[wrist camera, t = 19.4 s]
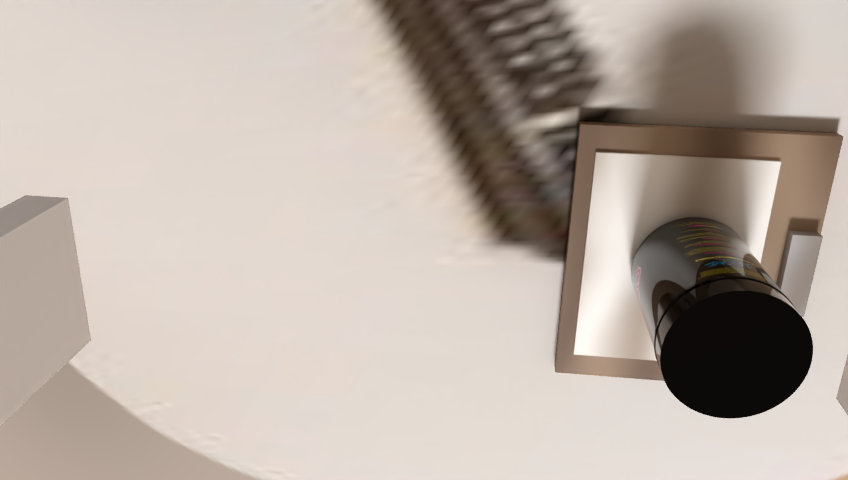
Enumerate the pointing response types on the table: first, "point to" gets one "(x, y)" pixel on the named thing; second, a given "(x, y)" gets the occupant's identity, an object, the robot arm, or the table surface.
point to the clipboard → (673, 199)
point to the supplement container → (718, 320)
